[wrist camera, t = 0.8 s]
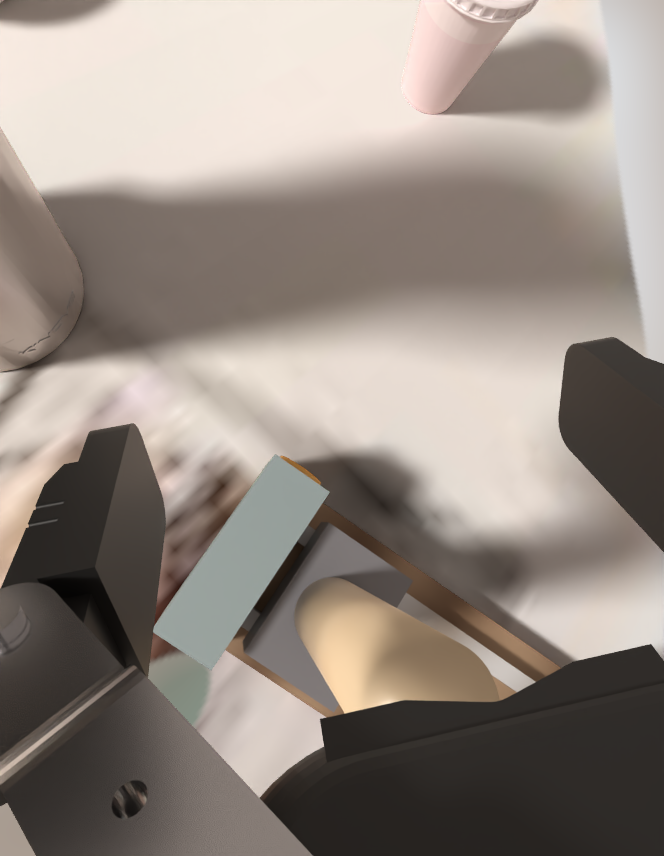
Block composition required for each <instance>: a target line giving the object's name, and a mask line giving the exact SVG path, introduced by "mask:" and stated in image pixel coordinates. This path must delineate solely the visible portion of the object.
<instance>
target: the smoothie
mask: <svg viewBox="0 0 664 856" xmlns="http://www.w3.org/2000/svg"><path fill="white" fill-rule="evenodd" d="M537 2H538V0H420V3H419V8H418V12H417V16H416V21H415V25H414V29H413V33H412V38H411V42H410V46H409V51H408V55H407V59H406V63H405V68H404V72H403V76H402V81H401V88H402V92H403V95H404V97H405V99H406V100H407V102H408V103H409V104H410V105H411V106H412V107H413V108H415V109H416V110H418V111H420V112H423V113H426V114H438V113H441V112H444V111H445V110H447V109H448V108H449V107H450V106H451V104H452V103H453V102H454V101H455V99H456V98H457V97H458V95H459V94H460V93H461V92H462V90H463V89H464V88H465V86H466V85H467V84H468V82H469V81H470V80H471V79H472V77H473V76H474V75H475V73H476V72H477V71H478V70H479V68H480V67H481V66H482V64H483V63H484V62H485V60H486V59H487V58H488V57H489V55H490V54H491V53H492V51H493V50H494V49H495V48H496V46H497V45H498V44H499V42H500V41H501V40H502V38H503V37H504V36H505V35H506V33H507V32H508V31H509V30H510V28H511V27H512V26H513V24H514V23H515V22H516V20H517V19H520V18H521V17H523V16H524V15H526V14H527V13H529V12H530V11H531V10H532V9H533V7H534V6H535V4H536V3H537Z"/></svg>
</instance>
